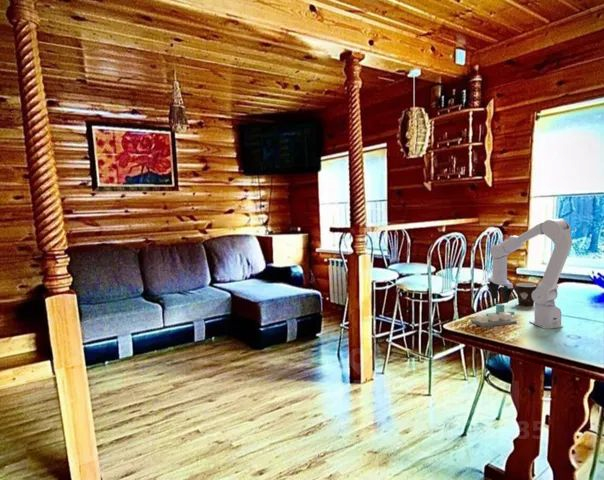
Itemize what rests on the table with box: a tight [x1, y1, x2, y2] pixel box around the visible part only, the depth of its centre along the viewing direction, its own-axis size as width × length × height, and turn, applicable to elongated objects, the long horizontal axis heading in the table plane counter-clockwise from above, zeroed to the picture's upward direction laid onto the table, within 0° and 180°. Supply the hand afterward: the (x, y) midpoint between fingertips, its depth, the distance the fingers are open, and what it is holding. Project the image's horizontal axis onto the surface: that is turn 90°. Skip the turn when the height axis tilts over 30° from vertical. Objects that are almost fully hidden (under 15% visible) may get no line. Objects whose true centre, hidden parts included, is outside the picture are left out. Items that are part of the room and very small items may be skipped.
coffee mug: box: [515, 282, 537, 308], centre depth 192 cm, size 12×9×10 cm
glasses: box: [485, 303, 515, 316], centre depth 180 cm, size 13×4×5 cm, turn 100°
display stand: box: [470, 311, 518, 328], centre depth 170 cm, size 16×8×4 cm, turn 100°
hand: (499, 300), depth 179 cm, fingers open, 7 cm apart
